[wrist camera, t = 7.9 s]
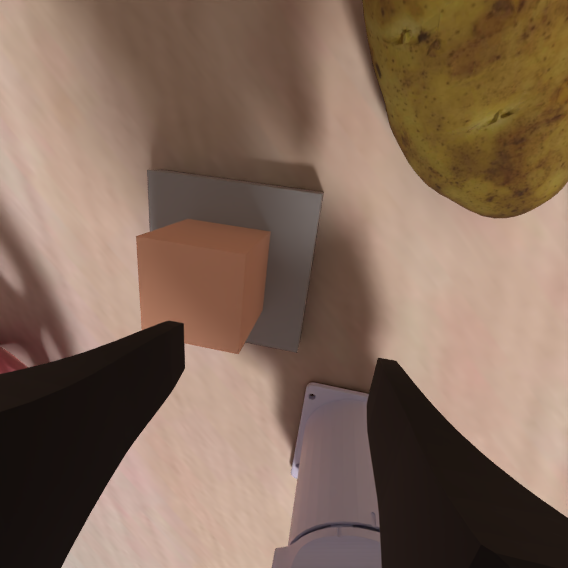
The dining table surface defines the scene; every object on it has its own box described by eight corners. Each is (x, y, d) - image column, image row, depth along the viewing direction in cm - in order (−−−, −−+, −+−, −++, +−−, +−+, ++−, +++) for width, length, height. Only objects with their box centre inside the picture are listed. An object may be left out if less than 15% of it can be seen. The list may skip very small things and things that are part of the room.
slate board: (299, 340, 22) (297, 352, 20) (165, 314, 23) (153, 323, 21) (323, 192, 18) (322, 194, 17) (161, 169, 19) (147, 169, 18)
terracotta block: (262, 309, 20) (238, 354, 15) (187, 296, 20) (141, 334, 16) (270, 231, 18) (245, 254, 13) (187, 218, 18) (136, 236, 14)
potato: (365, 222, 18) (382, 261, 11) (350, -65, 14) (360, -321, 7) (528, 205, 17) (679, 237, 9) (566, -128, 12) (904, -570, 5)
